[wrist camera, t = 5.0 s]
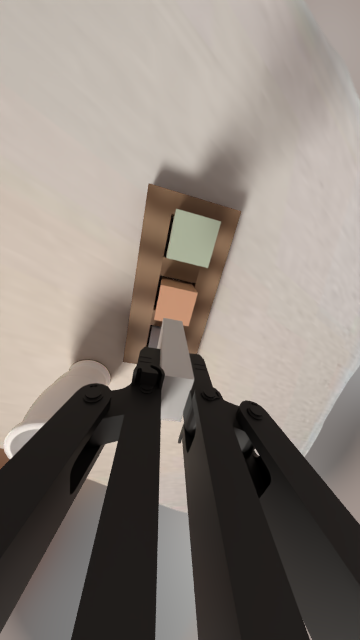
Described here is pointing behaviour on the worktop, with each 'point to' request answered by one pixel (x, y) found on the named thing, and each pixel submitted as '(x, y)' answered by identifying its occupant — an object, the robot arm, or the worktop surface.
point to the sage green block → (192, 238)
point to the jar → (54, 401)
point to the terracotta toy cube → (175, 300)
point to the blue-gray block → (154, 336)
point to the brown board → (174, 266)
